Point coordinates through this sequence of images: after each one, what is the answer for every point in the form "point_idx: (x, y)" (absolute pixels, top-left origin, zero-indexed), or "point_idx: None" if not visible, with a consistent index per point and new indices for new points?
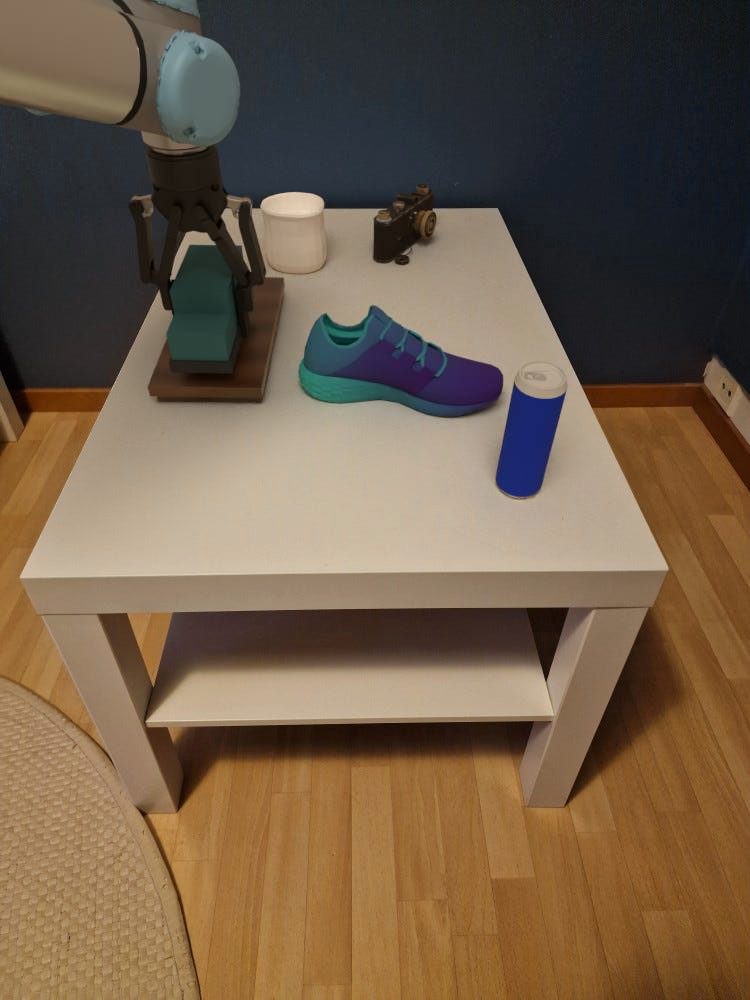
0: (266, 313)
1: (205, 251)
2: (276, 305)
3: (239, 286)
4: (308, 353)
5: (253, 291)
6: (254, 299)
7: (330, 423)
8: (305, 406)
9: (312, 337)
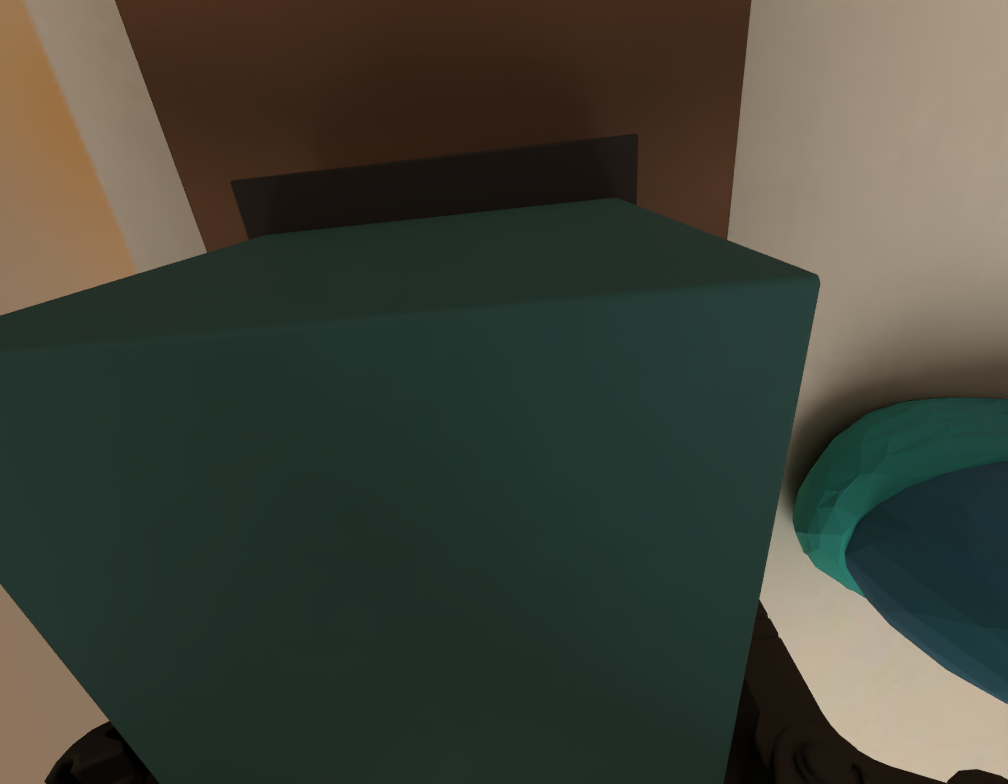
0: (678, 162)
1: (244, 545)
2: (737, 50)
3: (727, 771)
4: (913, 640)
5: (794, 666)
6: (763, 611)
7: (845, 609)
8: (784, 562)
9: (996, 695)
